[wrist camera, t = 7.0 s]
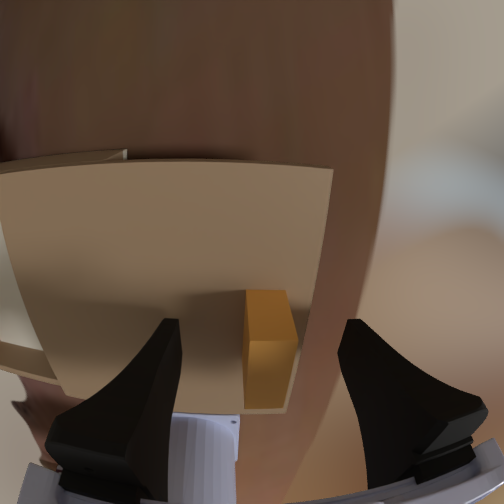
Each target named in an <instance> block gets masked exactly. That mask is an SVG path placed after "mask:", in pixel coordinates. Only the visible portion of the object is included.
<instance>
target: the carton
mask: <svg viewBox="0 0 504 504" xmlns="http://www.w3.org/2000/svg"><path fill="white" fill-rule="evenodd" d="M113 160H127V149H115V150H100V151H88V152H77V153H67V154H58V155H49V156H41V157H34V158H27V159H20V160H14V161H8V162H2V163H0V172H3V171H10V170H17V169H24V168H32V167H40V166H49V165H59V164H70V163H82V162H96V161H113ZM0 369H1V370H4V371H7V372H10V373H14V374H17V375H20V376H24V377H28V378H31V379H35V380H39V381H43V382H47V383H51V384H55V385H60V383H59V381H58V379H57V377H56V376H55V374H54V372H53V370H52V368H51V366H50V364H49V362H48V359H47V357H46V355H45V353H44V351H43V349H42V347H41V344H40V342H39V340H38V338H37V335H36V333H35V331H34V328H33V326H32V323H31V321H30V318H29V316H28V313H27V310H26V308H25V305H24V302H23V300H22V297H21V294H20V291H19V288H18V285H17V282H16V279H15V276H14V272H13V269H12V266H11V262H10V259H9V255H8V251H7V247H6V243H5V239H4V235H3V231H2V226H1V222H0ZM60 386H61V385H60Z"/></svg>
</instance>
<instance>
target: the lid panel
mask: <svg viewBox="0 0 504 504" xmlns="http://www.w3.org/2000/svg"><path fill="white" fill-rule="evenodd" d="M332 177H333V169H332V168H331V167H329V166H323V165H312V164H300V163H288V162H273V161H255V160H232V159H136V160H113V161H96V162H82V163H70V164H59V165H49V166H40V167H32V168H24V169H17V170H10V171H3V172H0V222H1V226H2V231H3V235H4V239H5V243H6V247H7V251H8V255H9V259H10V262H11V266H12V269H13V272H14V276H15V279H16V282H17V285H18V288H19V291H20V294H21V297H22V300H23V302H24V305H25V308H26V310H27V313H28V316H29V318H30V321H31V323H32V326H33V328H34V331H35V333H36V335H37V338H38V340H39V342H40V344H41V347H42V349H43V351H44V353H45V355H46V357H47V359H48V362H49V364H50V366H51V368H52V370H53V372H54V374H55V376H56V377H57V379H58V381H59V383H60V385H61V387H62V389H63V391H64V392H65V394H66V395H67V396H71V397H76V398H81V399H86V400H87V399H88V398H90V397H91V396H93V395H94V394H95V393H97V392H98V391H99V390H101V389H102V388H103V387H104V386H106V385H107V384H108V383H109V382H110V381H112V380H113V379H114V378H115V377H116V376H117V375H118V374H119V373H120V372H121V371H122V370H123V369H124V368H125V367H126V366H127V365H128V364H129V363H130V362H131V360H132V359H133V358H134V357H135V356H136V355H137V354H138V352H139V351H140V350H141V349H142V347H143V346H144V345H145V344H146V342H147V341H148V340H149V338H150V337H151V336H152V334H153V333H154V331H155V330H156V329H157V327H158V326H159V324H160V323H161V321H162V320H163V319H164V318H174V319H179V326H180V335H181V344H182V353H183V355H182V366H181V375H180V380H179V385H178V390H177V394H176V399H175V404H174V409H173V412H186V413H205V414H276V413H286V410H287V406H288V403H289V399H290V395H291V391H292V387H293V383H294V379H295V375H296V371H297V366H298V362H299V358H300V354H301V349H302V345H303V340H304V336H305V331H306V327H307V322H308V317H309V312H310V308H311V303H312V298H313V293H314V287H315V282H316V277H317V271H318V266H319V260H320V255H321V249H322V243H323V237H324V231H325V225H326V218H327V212H328V205H329V198H330V191H331V184H332Z"/></svg>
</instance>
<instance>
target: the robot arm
mask: <svg viewBox="0 0 504 504" xmlns="http://www.w3.org/2000/svg"><path fill="white" fill-rule="evenodd" d="M337 353H338V358H339V363H340V368H341V372H342V375H343V378H344V380H345V383H346V386H347V389H348V391H349V394H350V397H351V400H352V402H353V405H354V408H355V411H356V414H357V417H358V421H359V426H360V431H361V435H362V440H363V447H364V453H365V461H366V469H367V482H368V490H366V491H361V492H357V493H353V494H347V495H342V496H337V497H332V498H326V499H319V500H313V501H305V502H296V503H287V504H474V503H476V502H478V501H479V500H481V499H483V498H484V497H485V496H487V495H489V494H490V493H491V492H493V491H494V490H496V489H497V488H499V487H500V486H501V485H502V484H504V456H503V454H502V452H501V450H500V448H499V446H498V444H497V442H496V440H495V438H491V439H489V440H488V441H485V442H484V443H481V444H479V445H478V446H476V447H475V448H473V449H472V446H471V444H472V443H473V439H472V436H471V435H472V434H473V433H474V432H475V431H476V429H477V428H478V427H479V426H480V425H481V424H482V423H483V421H484V420H485V419H486V417H487V415H488V409H487V408H486V406H485V404H484V403H483V401H482V399H481V398H480V397H479V396H476V395H472V394H470V393H467V392H463V391H460V390H458V389H456V388H454V387H451V386H449V385H447V384H445V383H443V382H441V381H439V380H437V379H436V378H434V377H432V376H430V375H428V374H427V373H425V372H424V371H422V370H421V369H419V368H418V367H416V366H415V365H413V364H412V363H411V362H409V361H408V360H407V359H405V358H404V357H403V356H402V355H400V354H399V353H398V352H397V351H396V350H394V349H393V348H392V347H391V346H390V345H389V344H387V343H386V342H385V341H384V340H383V339H382V338H381V337H380V336H379V335H378V334H377V333H376V332H374V331H373V330H372V329H371V328H370V327H369V326H368V325H367V324H366V323H365V322H363V321H362V320H361V319H348V320H347V323H346V327H345V330H344V333H343V336H342V340H341V343H340V346H339V349H338V352H337ZM182 355H183V353H182V344H181V335H180V326H179V319H174V318H164V319H163V320H162V321H161V323H160V324H159V326H158V327H157V329H156V330H155V331H154V333H153V334H152V336H151V337H150V338H149V340H148V341H147V342H146V344H145V345H144V346H143V347H142V349H141V350H140V351H139V352H138V354H137V355H136V356H135V357H134V358H133V359H132V360H131V362H130V363H129V364H128V365H127V366H126V367H125V368H124V369H123V370H122V371H121V372H120V373H119V374H118V375H117V376H116V377H115V378H114V379H113V380H112V381H110V382H109V383H108V384H107V385H106V386H104V387H103V388H102V389H101V390H99V391H98V392H97V393H95V394H94V395H93V396H91V397H90V398H88V399H87V400H85V401H84V402H82V403H81V404H79V405H77V406H75V407H74V408H72V409H70V410H68V411H66V412H64V413H62V414H60V415H58V416H56V418H55V420H54V422H53V424H52V426H51V428H50V431H49V434H48V436H47V439H46V442H45V449H46V450H47V452H48V453H49V455H50V456H51V457H52V458H53V459H54V460H55V461H56V462H57V463H58V464H59V465H60V466H61V467H62V468H63V469H62V473H61V475H60V474H59V473H57V472H55V471H53V470H50V469H47V468H44V467H42V466H39V465H36V464H34V463H29V465H28V468H27V471H26V474H25V478H24V481H23V484H22V487H21V491H20V494H19V498H18V502H17V504H236V483H235V461H237V456H238V440H239V424H240V415H239V414H205V413H186V412H173V409H174V404H175V399H176V394H177V390H178V385H179V380H180V375H181V366H182Z"/></svg>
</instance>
